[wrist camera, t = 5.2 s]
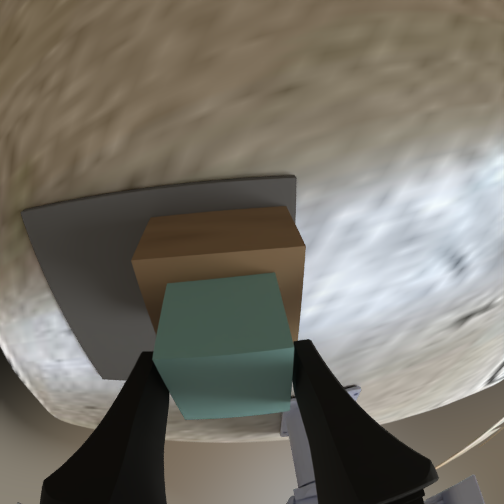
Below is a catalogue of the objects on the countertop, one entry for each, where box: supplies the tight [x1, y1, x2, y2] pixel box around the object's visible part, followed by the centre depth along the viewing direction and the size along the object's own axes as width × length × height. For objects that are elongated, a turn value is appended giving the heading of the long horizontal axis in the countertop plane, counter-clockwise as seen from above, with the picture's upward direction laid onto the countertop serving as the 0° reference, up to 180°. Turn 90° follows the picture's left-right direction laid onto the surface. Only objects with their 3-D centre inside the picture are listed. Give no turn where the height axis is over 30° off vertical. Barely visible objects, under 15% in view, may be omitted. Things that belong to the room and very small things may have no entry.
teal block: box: [152, 272, 294, 420], centre depth 12 cm, size 4×4×4 cm
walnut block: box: [131, 206, 306, 343], centre depth 15 cm, size 7×7×4 cm
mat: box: [21, 175, 296, 380], centre depth 18 cm, size 16×16×1 cm
